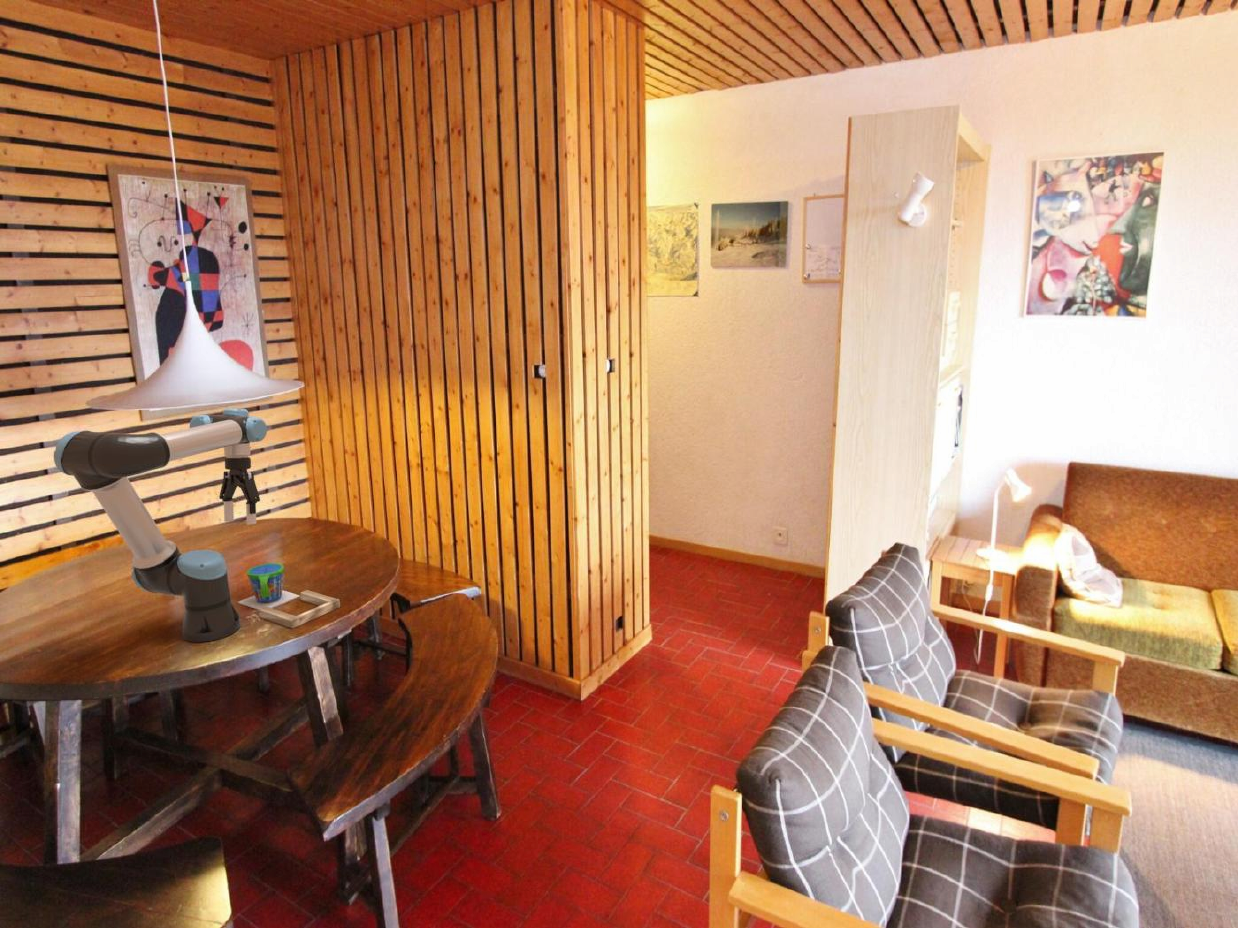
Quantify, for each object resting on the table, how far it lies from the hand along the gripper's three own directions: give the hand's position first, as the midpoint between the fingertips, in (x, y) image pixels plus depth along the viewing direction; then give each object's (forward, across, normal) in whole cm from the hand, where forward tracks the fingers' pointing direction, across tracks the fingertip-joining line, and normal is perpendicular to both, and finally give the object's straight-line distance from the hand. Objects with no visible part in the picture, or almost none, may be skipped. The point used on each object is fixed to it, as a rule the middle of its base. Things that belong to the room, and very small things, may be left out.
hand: (240, 522), depth 242 cm
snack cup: (+24, -11, -3) cm, 27 cm away
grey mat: (+24, -11, -3) cm, 27 cm away
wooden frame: (+26, -28, -3) cm, 38 cm away
